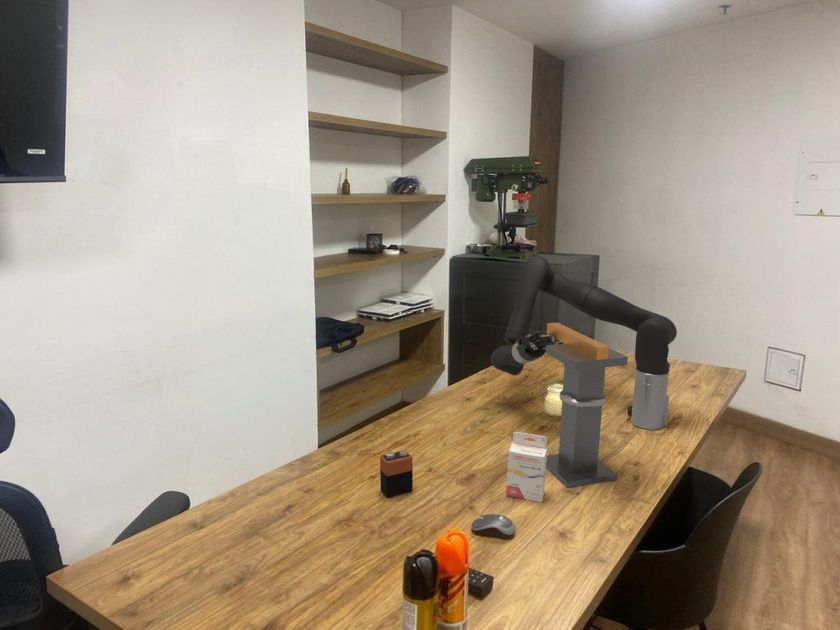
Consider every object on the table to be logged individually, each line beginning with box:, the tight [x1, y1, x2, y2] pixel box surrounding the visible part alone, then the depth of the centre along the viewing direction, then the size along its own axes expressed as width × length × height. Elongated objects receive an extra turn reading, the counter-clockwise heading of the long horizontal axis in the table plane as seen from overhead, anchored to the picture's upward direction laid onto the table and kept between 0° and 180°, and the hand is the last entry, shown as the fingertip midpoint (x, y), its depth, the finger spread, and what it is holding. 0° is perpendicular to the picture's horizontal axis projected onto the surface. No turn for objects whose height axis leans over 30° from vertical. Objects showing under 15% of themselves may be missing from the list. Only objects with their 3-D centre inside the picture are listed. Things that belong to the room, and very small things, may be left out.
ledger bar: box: [546, 322, 610, 360], centre depth 147 cm, size 3×24×3 cm, turn 16°
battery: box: [379, 449, 414, 498], centre depth 139 cm, size 4×7×10 cm, turn 117°
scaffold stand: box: [545, 344, 629, 489], centre depth 147 cm, size 14×14×32 cm
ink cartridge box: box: [505, 431, 548, 503], centre depth 137 cm, size 9×5×15 cm, turn 71°
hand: (553, 334), depth 158 cm, fingers open, 8 cm apart
